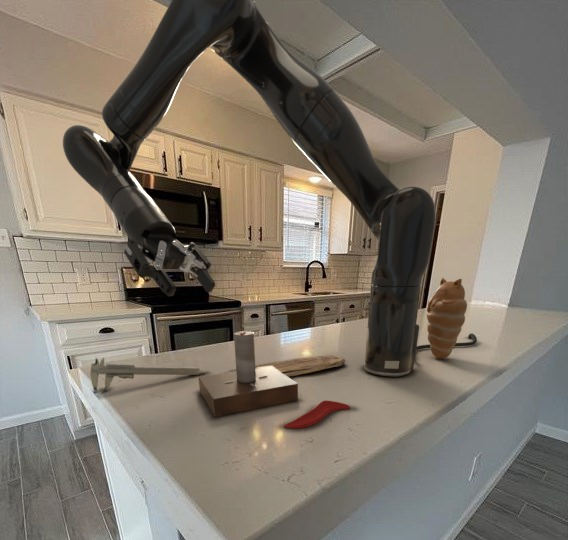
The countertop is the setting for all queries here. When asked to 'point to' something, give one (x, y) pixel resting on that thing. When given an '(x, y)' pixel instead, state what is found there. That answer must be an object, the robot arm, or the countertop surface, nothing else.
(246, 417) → the countertop surface
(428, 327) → the cat bread figurine
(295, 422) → the cayenne pepper
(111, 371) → the caliper
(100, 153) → the robot arm
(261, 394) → the rod block
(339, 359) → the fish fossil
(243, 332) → the rod
